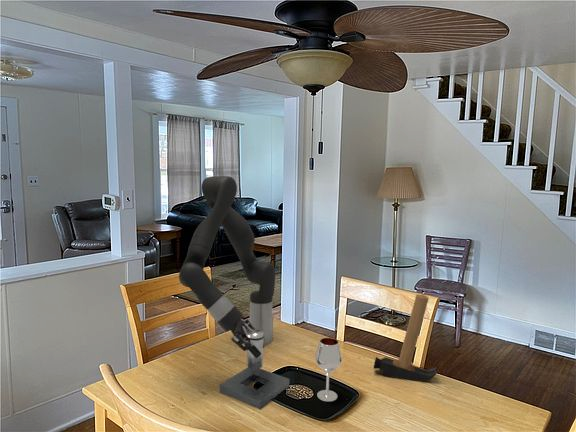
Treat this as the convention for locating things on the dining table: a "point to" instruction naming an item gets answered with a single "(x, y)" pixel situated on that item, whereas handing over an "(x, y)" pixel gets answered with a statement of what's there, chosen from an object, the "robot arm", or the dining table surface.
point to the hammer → (408, 349)
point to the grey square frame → (251, 396)
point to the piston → (257, 340)
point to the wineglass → (328, 364)
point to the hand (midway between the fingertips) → (260, 352)
